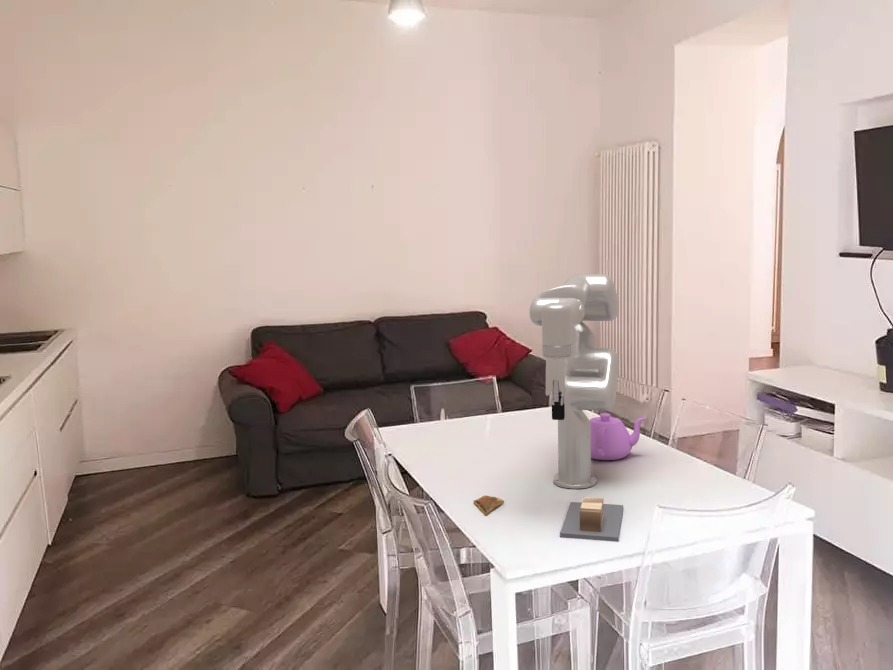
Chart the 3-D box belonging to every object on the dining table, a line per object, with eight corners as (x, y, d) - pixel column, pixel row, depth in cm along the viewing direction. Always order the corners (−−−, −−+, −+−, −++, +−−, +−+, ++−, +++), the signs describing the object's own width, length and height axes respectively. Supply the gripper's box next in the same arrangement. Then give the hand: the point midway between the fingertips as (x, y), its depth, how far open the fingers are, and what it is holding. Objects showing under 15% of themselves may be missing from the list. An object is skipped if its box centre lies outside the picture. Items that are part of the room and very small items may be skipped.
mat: (570, 505, 219) (570, 501, 219) (623, 508, 215) (623, 505, 215) (560, 536, 198) (560, 533, 198) (618, 541, 194) (618, 537, 194)
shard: (486, 517, 213) (486, 511, 213) (461, 513, 217) (461, 506, 217) (505, 504, 222) (505, 498, 222) (481, 500, 226) (481, 494, 226)
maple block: (583, 497, 208) (579, 511, 198) (603, 498, 207) (600, 512, 197) (583, 515, 209) (579, 530, 199) (603, 516, 207) (600, 531, 198)
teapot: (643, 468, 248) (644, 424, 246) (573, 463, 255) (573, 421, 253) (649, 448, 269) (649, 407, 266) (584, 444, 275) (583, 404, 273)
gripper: (545, 344, 216) (547, 410, 219) (539, 356, 202) (540, 427, 205) (573, 344, 214) (574, 411, 218) (569, 357, 200) (570, 428, 203)
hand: (558, 418), depth 211 cm, fingers closed
